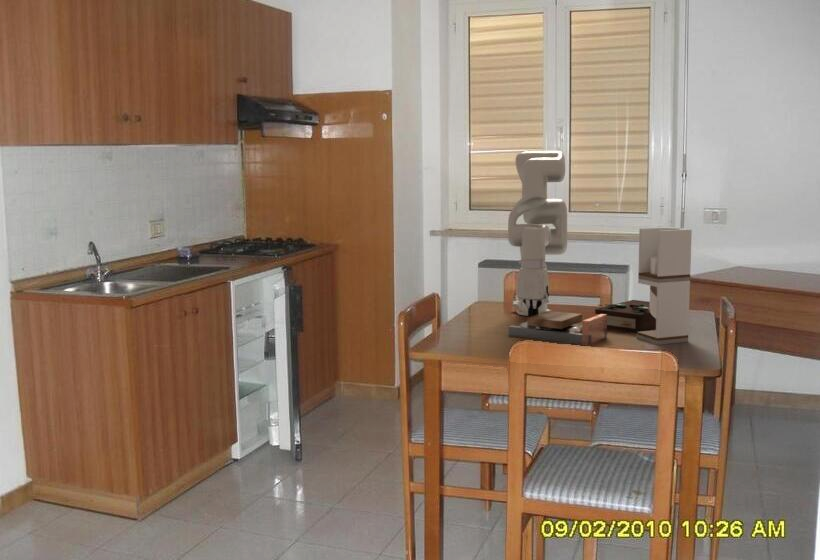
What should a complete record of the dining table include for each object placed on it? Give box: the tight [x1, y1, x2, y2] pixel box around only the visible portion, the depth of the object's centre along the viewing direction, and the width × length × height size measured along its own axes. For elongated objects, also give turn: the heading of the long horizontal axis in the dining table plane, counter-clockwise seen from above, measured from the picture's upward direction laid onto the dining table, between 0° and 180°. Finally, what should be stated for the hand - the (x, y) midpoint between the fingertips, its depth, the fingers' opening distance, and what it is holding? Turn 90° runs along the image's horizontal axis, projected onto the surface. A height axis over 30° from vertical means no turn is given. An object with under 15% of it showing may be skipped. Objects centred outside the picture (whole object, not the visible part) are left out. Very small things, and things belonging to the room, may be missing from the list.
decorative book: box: [594, 299, 656, 334], centre depth 293 cm, size 19×8×30 cm
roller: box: [564, 324, 583, 334], centre depth 272 cm, size 4×8×4 cm, turn 144°
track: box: [508, 314, 608, 346], centre depth 276 cm, size 28×14×8 cm, turn 54°
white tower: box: [636, 226, 693, 346], centre depth 267 cm, size 11×11×35 cm
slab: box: [526, 310, 583, 329], centre depth 276 cm, size 12×15×2 cm
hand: (533, 319), depth 281 cm, fingers closed
